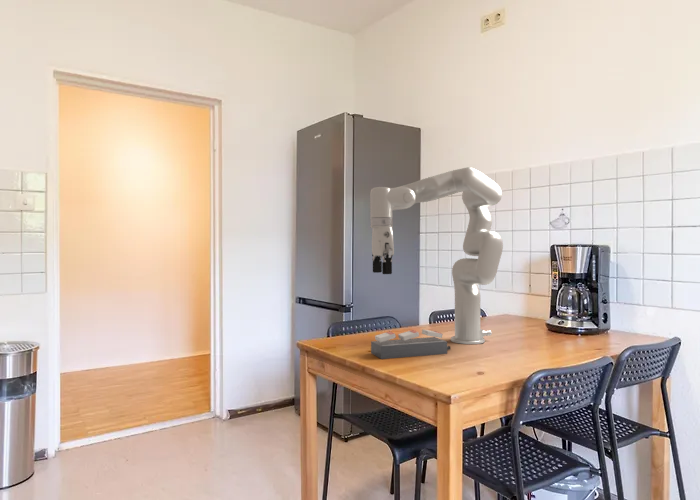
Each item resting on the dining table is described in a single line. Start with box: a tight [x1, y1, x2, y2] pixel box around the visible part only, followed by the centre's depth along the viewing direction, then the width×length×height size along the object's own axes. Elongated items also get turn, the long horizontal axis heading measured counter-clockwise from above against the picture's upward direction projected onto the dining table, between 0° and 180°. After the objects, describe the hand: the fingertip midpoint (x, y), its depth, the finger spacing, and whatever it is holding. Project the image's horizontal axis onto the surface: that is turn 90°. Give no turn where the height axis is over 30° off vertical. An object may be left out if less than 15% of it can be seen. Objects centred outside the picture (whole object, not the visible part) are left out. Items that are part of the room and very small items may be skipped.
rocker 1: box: [374, 331, 397, 342], centre depth 161 cm, size 6×4×2 cm
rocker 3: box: [421, 329, 443, 339], centre depth 167 cm, size 6×4×2 cm
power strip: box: [370, 336, 451, 360], centre depth 165 cm, size 28×9×4 cm, turn 108°
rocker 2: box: [397, 329, 420, 341], centre depth 164 cm, size 6×4×2 cm
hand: (382, 273), depth 167 cm, fingers open, 9 cm apart
